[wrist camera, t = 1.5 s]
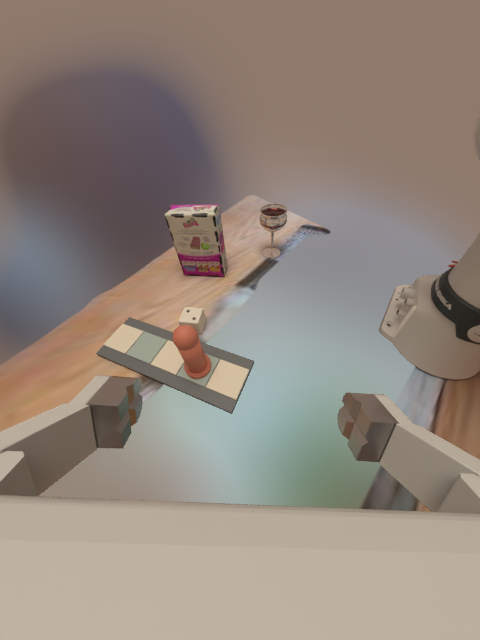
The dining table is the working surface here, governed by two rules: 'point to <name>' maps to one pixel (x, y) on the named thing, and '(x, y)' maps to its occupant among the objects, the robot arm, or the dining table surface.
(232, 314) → the dining table surface
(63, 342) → the dining table surface
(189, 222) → the candy bar box
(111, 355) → the track board
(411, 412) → the dining table surface
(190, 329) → the pawn
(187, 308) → the die
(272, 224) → the wineglass
